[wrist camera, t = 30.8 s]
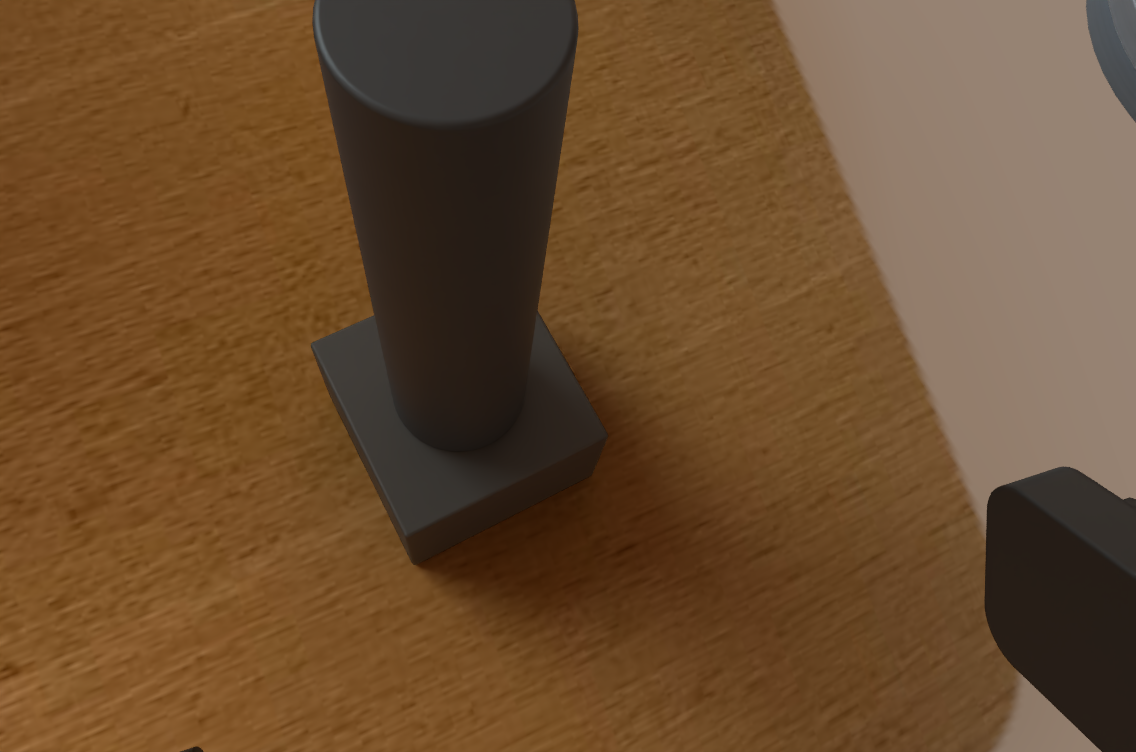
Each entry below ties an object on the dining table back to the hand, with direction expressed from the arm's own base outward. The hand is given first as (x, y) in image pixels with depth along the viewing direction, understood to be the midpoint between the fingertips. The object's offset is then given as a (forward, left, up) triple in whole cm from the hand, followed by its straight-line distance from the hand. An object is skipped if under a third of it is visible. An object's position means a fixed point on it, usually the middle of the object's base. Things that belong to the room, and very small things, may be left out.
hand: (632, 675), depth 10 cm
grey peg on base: (-1, -6, -12) cm, 14 cm away
